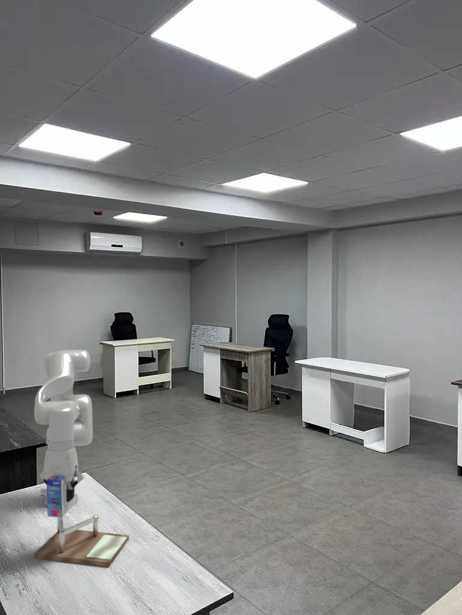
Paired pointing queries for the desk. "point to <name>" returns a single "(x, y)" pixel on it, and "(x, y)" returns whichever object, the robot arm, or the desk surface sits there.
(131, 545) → the desk surface
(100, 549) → the board
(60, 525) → the bent wire
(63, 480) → the ink cartridge box
